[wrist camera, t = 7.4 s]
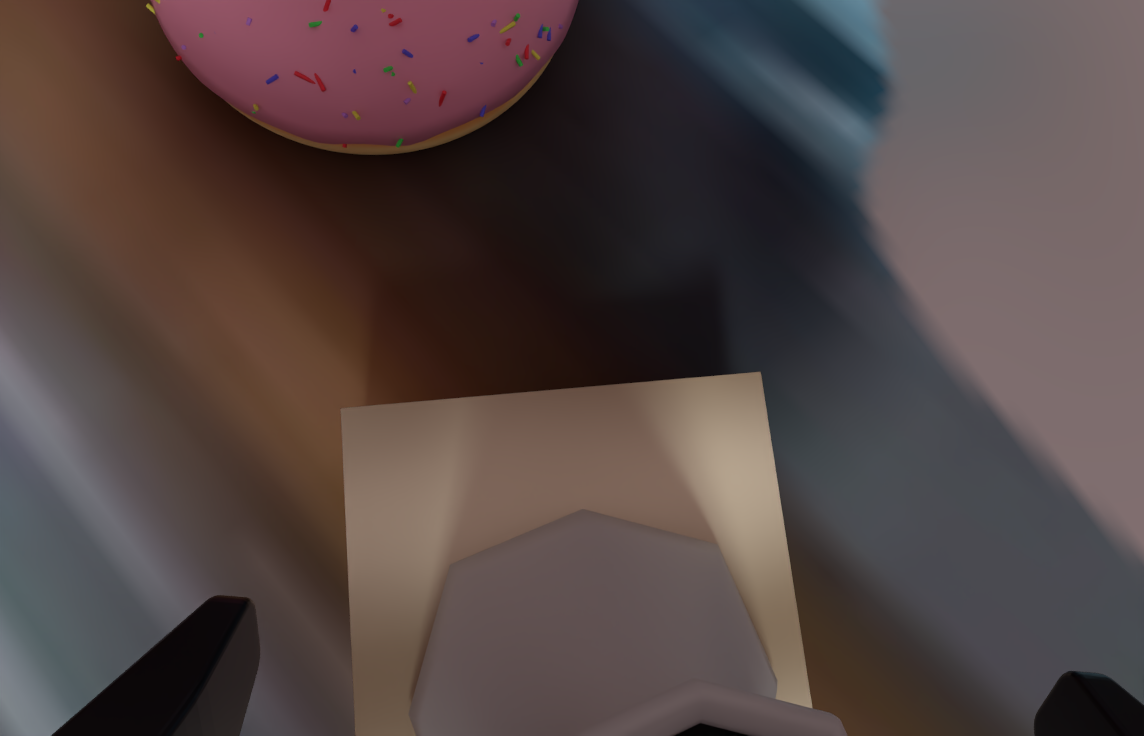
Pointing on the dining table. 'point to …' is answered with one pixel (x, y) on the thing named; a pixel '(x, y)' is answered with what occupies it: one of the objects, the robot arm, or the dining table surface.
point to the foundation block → (552, 505)
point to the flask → (600, 641)
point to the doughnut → (367, 64)
